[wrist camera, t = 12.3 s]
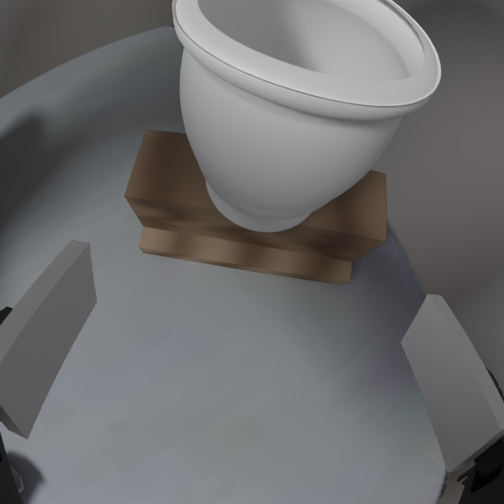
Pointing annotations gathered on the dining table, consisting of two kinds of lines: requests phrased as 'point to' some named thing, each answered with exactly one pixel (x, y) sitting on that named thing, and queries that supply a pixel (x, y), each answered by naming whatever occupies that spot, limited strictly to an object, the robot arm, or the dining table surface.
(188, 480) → the dining table surface
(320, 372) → the dining table surface
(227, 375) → the dining table surface
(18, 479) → the tube
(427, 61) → the jar
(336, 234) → the wooden block
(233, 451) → the dining table surface
